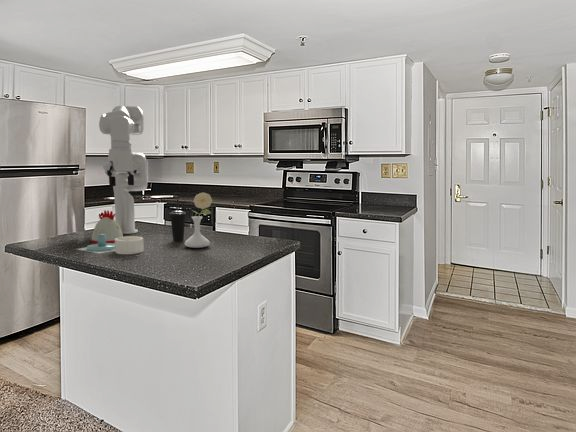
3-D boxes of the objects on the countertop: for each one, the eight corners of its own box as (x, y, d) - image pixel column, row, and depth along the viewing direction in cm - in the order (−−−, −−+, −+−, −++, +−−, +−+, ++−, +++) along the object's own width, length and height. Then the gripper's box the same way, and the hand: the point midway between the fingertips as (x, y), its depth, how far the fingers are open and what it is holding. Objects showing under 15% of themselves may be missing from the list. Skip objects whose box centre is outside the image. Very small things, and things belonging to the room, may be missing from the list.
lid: (80, 249, 181) (80, 234, 180) (105, 244, 191) (104, 231, 191) (98, 252, 175) (97, 237, 174) (123, 247, 185) (122, 233, 185)
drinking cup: (177, 242, 201) (176, 200, 199) (167, 240, 206) (166, 199, 203) (189, 240, 207) (189, 199, 205) (179, 238, 212) (178, 198, 209)
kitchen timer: (112, 245, 193) (110, 212, 192) (85, 243, 196) (83, 211, 194) (129, 239, 207) (128, 209, 205) (103, 238, 210) (102, 208, 208)
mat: (76, 250, 181) (76, 249, 181) (105, 245, 193) (105, 243, 193) (98, 255, 174) (98, 253, 174) (127, 249, 186) (127, 247, 185)
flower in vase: (180, 249, 188) (179, 192, 184) (190, 244, 199) (189, 190, 195) (208, 250, 185) (207, 193, 182) (217, 245, 196) (216, 191, 193)
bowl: (109, 253, 177) (109, 239, 176) (131, 248, 186) (131, 235, 186) (127, 256, 171) (126, 242, 171) (148, 251, 181) (148, 238, 180)
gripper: (130, 146, 192) (131, 184, 194) (97, 144, 177) (98, 186, 179) (142, 146, 188) (143, 185, 190) (109, 144, 173) (110, 186, 175)
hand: (122, 185), depth 184 cm, fingers open, 9 cm apart
